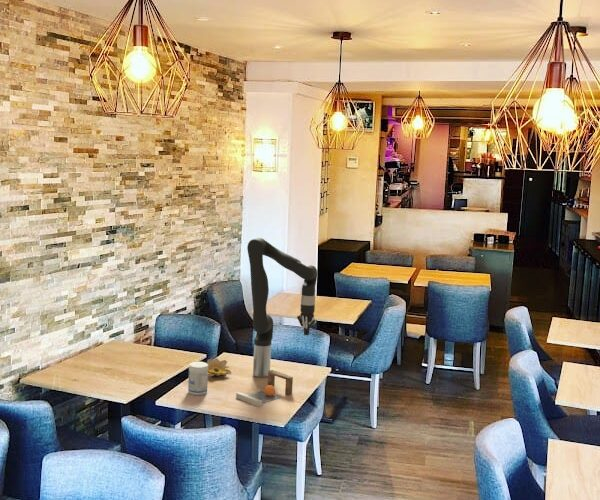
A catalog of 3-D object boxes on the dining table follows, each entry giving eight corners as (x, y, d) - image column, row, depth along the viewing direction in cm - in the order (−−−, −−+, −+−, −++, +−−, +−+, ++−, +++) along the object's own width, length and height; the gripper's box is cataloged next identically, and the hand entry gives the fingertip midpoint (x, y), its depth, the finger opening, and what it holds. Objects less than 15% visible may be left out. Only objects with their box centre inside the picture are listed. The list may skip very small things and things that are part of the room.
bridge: (288, 395, 349) (288, 378, 348) (267, 388, 359) (268, 371, 357) (292, 394, 351) (292, 376, 350) (271, 386, 361) (272, 369, 360)
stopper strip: (258, 406, 333) (259, 401, 332) (236, 397, 343) (236, 392, 343) (261, 405, 334) (261, 400, 334) (239, 396, 345) (239, 391, 344)
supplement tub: (184, 392, 348) (184, 364, 346) (198, 387, 355) (199, 360, 353) (197, 397, 342) (197, 368, 340) (211, 392, 349) (212, 364, 347)
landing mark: (261, 404, 336) (261, 403, 336) (243, 396, 345) (243, 396, 345) (280, 397, 346) (280, 397, 346) (261, 390, 355) (261, 390, 355)
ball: (269, 399, 349) (263, 396, 344) (266, 389, 352) (261, 386, 348) (278, 394, 347) (272, 391, 343) (275, 385, 350) (270, 381, 346)
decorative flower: (204, 378, 365) (205, 359, 366) (199, 376, 375) (200, 357, 376) (232, 377, 370) (232, 359, 371) (226, 376, 381) (227, 357, 382)
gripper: (321, 304, 366) (320, 336, 368) (303, 300, 374) (301, 331, 377) (312, 306, 360) (310, 338, 363) (293, 301, 369) (292, 333, 371)
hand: (306, 334), depth 370 cm, fingers closed
